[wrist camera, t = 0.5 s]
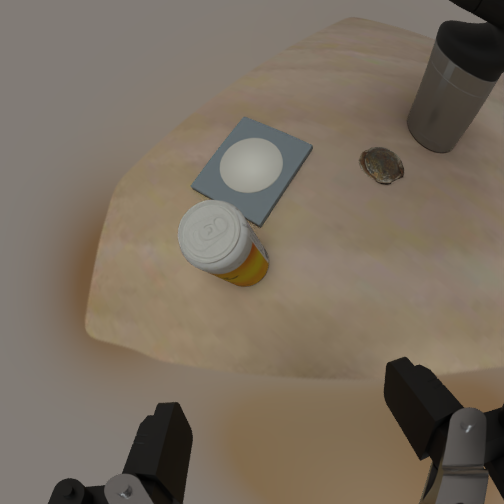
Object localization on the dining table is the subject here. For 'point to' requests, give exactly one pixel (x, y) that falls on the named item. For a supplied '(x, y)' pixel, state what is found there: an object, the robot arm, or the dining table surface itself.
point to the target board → (252, 169)
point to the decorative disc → (381, 165)
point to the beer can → (222, 243)
